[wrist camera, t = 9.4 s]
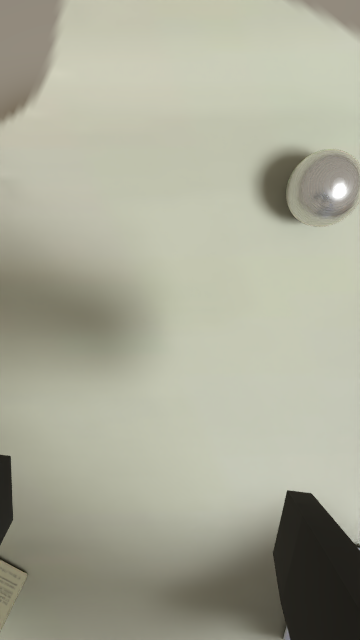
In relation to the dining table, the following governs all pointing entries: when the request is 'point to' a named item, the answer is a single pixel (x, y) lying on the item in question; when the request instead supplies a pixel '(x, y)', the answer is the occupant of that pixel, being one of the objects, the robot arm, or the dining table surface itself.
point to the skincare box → (9, 588)
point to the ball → (324, 188)
